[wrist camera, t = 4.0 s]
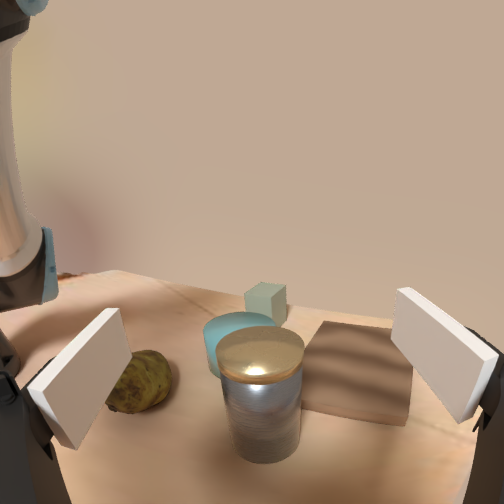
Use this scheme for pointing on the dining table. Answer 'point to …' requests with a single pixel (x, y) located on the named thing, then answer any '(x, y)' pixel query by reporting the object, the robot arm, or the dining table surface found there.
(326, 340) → the walnut board
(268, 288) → the sage box
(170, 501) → the dining table surface
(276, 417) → the tea tin
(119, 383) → the potato
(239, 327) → the teal domed cylinder
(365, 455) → the dining table surface
